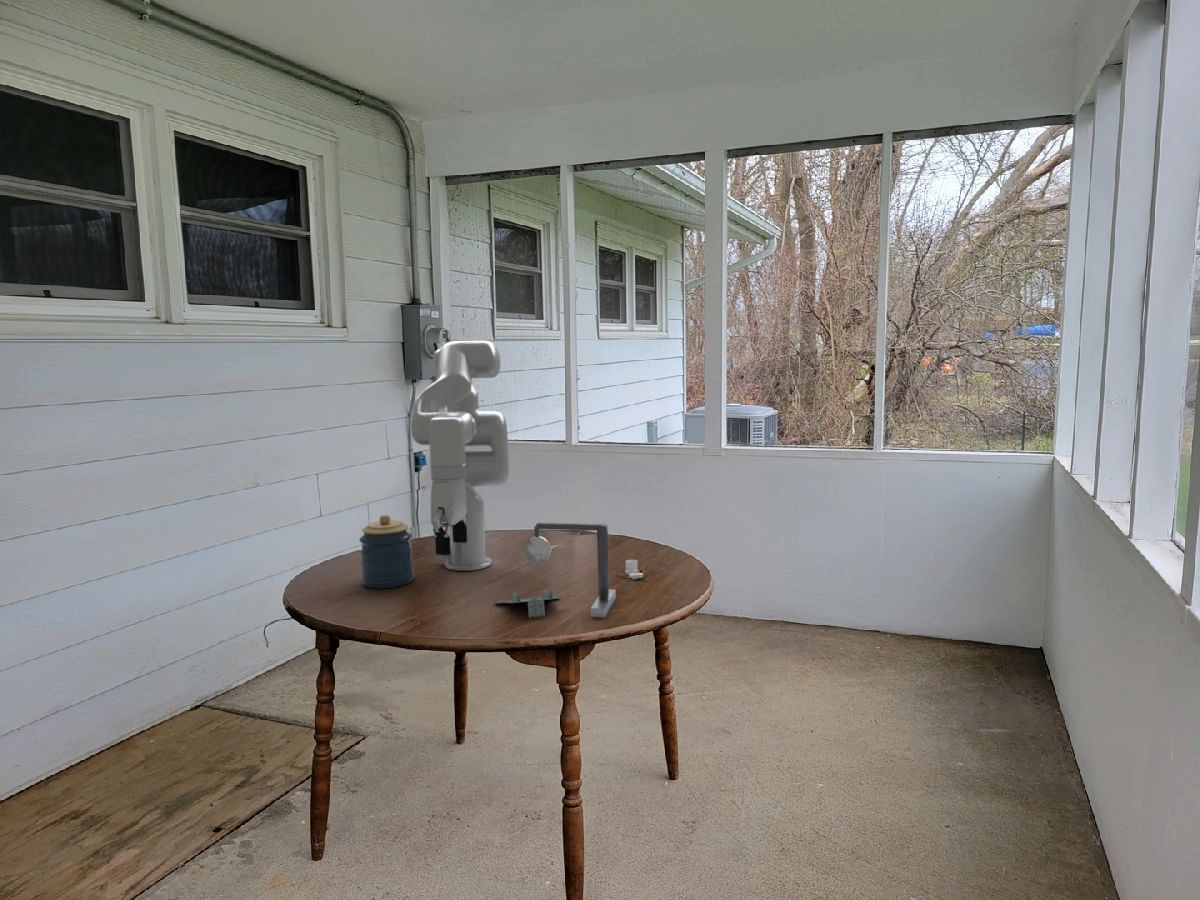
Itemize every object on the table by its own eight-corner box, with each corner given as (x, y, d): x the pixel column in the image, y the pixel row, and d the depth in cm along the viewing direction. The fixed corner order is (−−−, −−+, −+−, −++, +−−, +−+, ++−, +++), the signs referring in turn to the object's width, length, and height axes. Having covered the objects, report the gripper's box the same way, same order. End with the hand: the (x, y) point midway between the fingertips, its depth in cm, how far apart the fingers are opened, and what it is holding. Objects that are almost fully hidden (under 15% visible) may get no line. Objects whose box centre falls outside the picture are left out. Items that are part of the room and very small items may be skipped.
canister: (421, 583, 199) (417, 515, 197) (370, 592, 192) (366, 522, 190) (404, 572, 210) (401, 507, 208) (355, 580, 203) (352, 513, 201)
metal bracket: (569, 588, 174) (502, 594, 170) (571, 614, 173) (504, 622, 169) (556, 588, 188) (493, 594, 184) (558, 613, 187) (495, 620, 183)
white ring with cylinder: (644, 582, 198) (644, 566, 197) (613, 581, 200) (613, 565, 199) (649, 572, 206) (649, 557, 206) (619, 571, 208) (619, 556, 208)
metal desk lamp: (517, 613, 174) (515, 529, 172) (535, 594, 188) (533, 516, 186) (604, 617, 170) (602, 532, 168) (615, 598, 184) (614, 518, 182)
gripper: (447, 465, 180) (451, 537, 182) (415, 479, 163) (419, 558, 165) (478, 465, 178) (481, 538, 181) (449, 480, 161) (453, 560, 164)
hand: (452, 548), depth 173 cm, fingers open, 9 cm apart
